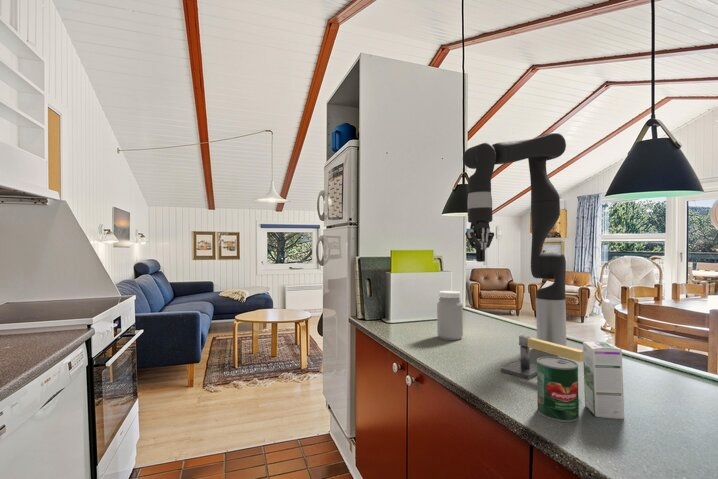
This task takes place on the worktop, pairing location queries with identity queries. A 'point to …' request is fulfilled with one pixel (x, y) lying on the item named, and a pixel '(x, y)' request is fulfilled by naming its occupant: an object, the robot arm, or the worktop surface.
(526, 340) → the bar
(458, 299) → the jar
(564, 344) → the robot arm
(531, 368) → the post
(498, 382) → the worktop surface
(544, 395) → the canned tomato
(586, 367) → the syrup box
